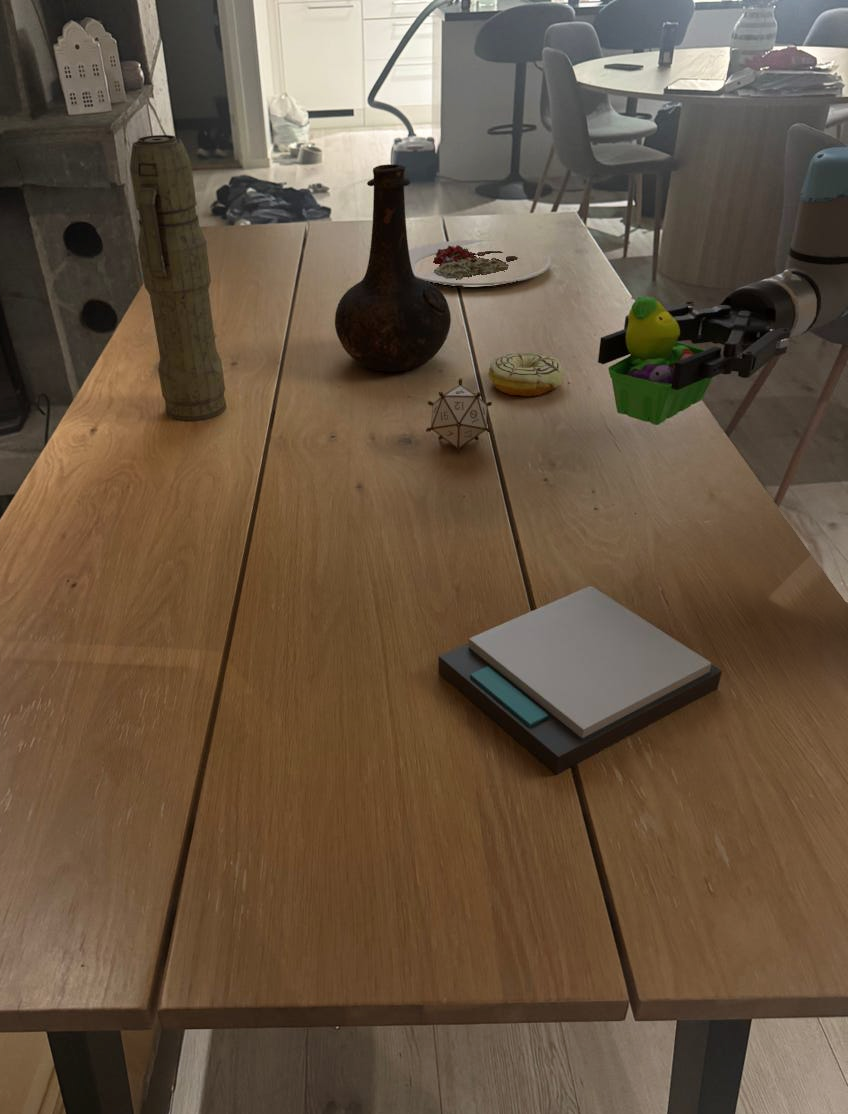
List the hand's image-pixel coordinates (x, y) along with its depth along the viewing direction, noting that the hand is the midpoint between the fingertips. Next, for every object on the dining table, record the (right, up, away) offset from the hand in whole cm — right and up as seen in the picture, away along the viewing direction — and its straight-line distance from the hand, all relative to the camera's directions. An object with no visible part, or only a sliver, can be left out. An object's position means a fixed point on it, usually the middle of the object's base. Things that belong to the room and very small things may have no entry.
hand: (638, 363), depth 99 cm
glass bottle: (-24, +15, +51) cm, 59 cm away
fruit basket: (+3, -3, +6) cm, 8 cm away
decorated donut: (-5, +9, +42) cm, 43 cm away
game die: (-16, -3, +27) cm, 32 cm away
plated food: (-7, +44, +89) cm, 100 cm away
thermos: (-53, +4, +39) cm, 66 cm away
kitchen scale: (-9, -32, -13) cm, 36 cm away
